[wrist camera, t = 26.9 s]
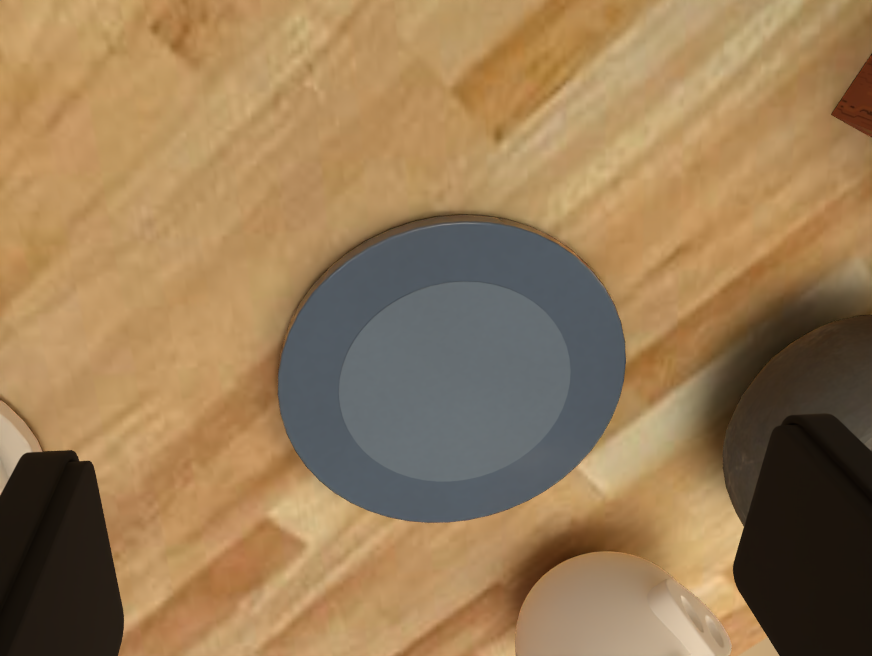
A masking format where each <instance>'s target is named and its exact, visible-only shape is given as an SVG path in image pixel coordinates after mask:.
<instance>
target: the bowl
mask: <svg viewBox="0 0 872 656" xmlns="http://www.w3.org/2000/svg"><path fill="white" fill-rule="evenodd" d="M821 413H827V414H832V415H833V416H835V417H836V418H837V419H839V420H840V421H841V422H842V423H843V424H844V425H845V426H846V427H847V428H848V429H849V430H850V431H851V432H852V433H853V434H854V435H855V436H856V437H857V438H858V439H859V440H860V441H861V442H862V443H863V444H864V445H865V446H866V447H868V448H869V449H870V450H871V451H872V315H863V316H857V317H852V318H847V319H842V320H838V321H833V322H830V323H828V324H825V325H823V326H821V327H819V328H817V329H815V330H812V331H811V332H809V333H807V334H806V335H804V336H802V337H801V338H799V339H797V340H796V341H794V342H792V343H791V344H790V345H788V346H787V347H786V348H784V349H783V350H782V351H781V352H779V353H778V354H777V355H775V356H774V357H773V358H772V359H771V360H770V361H769V362H768V363H767V364H766V365H765V366H764V367H763V368H762V370H761V371H760V372H759V373H758V375H757V376H756V377H755V379H754V380H753V381H752V383H751V384H750V386H749V387H748V388H747V390H746V391H745V393H744V394H743V396H742V397H741V399H740V401H739V403H738V405H737V406H736V409H735V411H734V413H733V415H732V418H731V420H730V422H729V425H728V428H727V430H726V434H725V439H724V445H723V471H724V478H725V484H726V488H727V491H728V493H729V497H730V499H731V502H732V505H733V507H734V509H735V511H736V513H737V515H738V517H739V519H740V520H741V522H742V524H743V526H745V522H746V519H747V515H748V512H749V508H750V505H751V501H752V498H753V494H754V491H755V488H756V484H757V481H758V477H759V474H760V470H761V467H762V463H763V460H764V456H765V453H766V450H767V446H768V443H769V439H770V436H771V433H772V431H773V429H774V428H775V427H777V426H781V424H782V422H783V420H784V419H785V418H786V417H787V416H790V415H801V414H821Z"/></svg>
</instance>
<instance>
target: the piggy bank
mask: <svg viewBox="0 0 872 656" xmlns="http://www.w3.org/2000/svg"><path fill="white" fill-rule="evenodd" d="M515 652H516V656H729V655H730V653H731V641H730V638H729V636H728V634H727V632H726V630H725V629H724V627H723V625H722V624H721V623H720V621H719V620H718V619H717V617H716V616H715V615H714V614H713V613H712V611H711V610H710V609H709V608H708V607H707V606H706V605H705V604H704V603H703V602H702V601H701V600H700V599H699V598H698V597H696V596H695V595H694V594H693V593H691V592H690V591H689V590H687V589H686V588H685V587H684V586H682V585H681V584H679V583H678V582H677V581H676V580H675V579H674V578H673V577H672V576H671V575H670V574H669V573H667V572H666V571H665V570H663V569H662V568H661V567H659V566H657V565H656V564H654V563H652V562H650V561H648V560H646V559H644V558H641V557H638V556H635V555H632V554H628V553H623V552H613V551H601V552H592V553H587V554H582V555H579V556H576V557H573V558H570V559H568V560H566V561H564V562H562V563H560V564H558V565H557V566H555V567H554V568H552V569H551V570H549V571H548V572H547V573H546V574H545V575H543V576H542V577H541V578H540V579H539V580H538V582H537V583H536V584H535V585H534V586H533V588H532V589H531V590H530V592H529V593H528V595H527V597H526V599H525V601H524V603H523V605H522V607H521V610H520V613H519V617H518V621H517V626H516V634H515Z"/></svg>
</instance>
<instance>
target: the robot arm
mask: <svg viewBox="0 0 872 656" xmlns="http://www.w3.org/2000/svg"><path fill="white" fill-rule="evenodd" d="M733 574H734V580H735V583H736V586H737V588H738V590H739V592H740V593H741V595H742V597H743V598H744V600H745V601H746V603H747V605H748V606H749V608H750V609H751V611H752V613H753V614H754V616H755V617H756V619H757V620H758V622H759V624H760V625H761V627H762V628H763V630H764V632H765V633H766V635H767V636H768V638H769V640H770V641H771V643H772V644H773V646H774V648H775V649H776V651H777V652H778V654H779V655H780V656H872V451H871V450H870V449H869V448H868V447H866V446H865V445H864V444H863V443H862V442H861V441H860V440H859V439H858V438H857V437H856V436H855V435H854V434H853V433H852V432H851V431H850V430H849V429H848V428H847V427H846V426H845V425H844V424H843V423H842V422H841V421H840V420H839V419H837V418H836V417H835V416H833V415H832V414H827V413H821V414H801V415H790V416H787V417H786V418H785V419H784V420H783V422H782V424H781V426H777V427H775V428H774V429H773V431H772V433H771V436H770V439H769V443H768V446H767V450H766V453H765V456H764V460H763V463H762V467H761V470H760V474H759V477H758V481H757V484H756V488H755V491H754V494H753V498H752V501H751V505H750V508H749V512H748V515H747V519H746V522H745V526H744V529H743V533H742V536H741V539H740V543H739V546H738V550H737V553H736V557H735V560H734V565H733ZM123 629H124V614H123V607H122V602H121V597H120V592H119V587H118V583H117V578H116V573H115V568H114V563H113V558H112V553H111V548H110V543H109V538H108V533H107V528H106V523H105V518H104V514H103V509H102V504H101V499H100V494H99V489H98V484H97V479H96V474H95V470H94V466H93V464H92V462H90V461H79V459H78V456H77V454H76V453H75V452H74V451H72V450H67V451H47V452H42V449H41V447H40V445H39V442H38V440H37V439H36V437H35V436H34V435H33V433H32V432H31V430H30V429H29V427H28V426H27V425H26V423H25V422H24V421H23V420H22V419H21V418H20V417H19V416H18V415H17V414H16V413H15V412H14V411H13V410H12V409H11V408H10V407H9V406H8V405H7V404H5V403H4V402H3V401H1V400H0V656H118V653H119V649H120V645H121V641H122V637H123Z"/></svg>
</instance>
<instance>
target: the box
mask: <svg viewBox="0 0 872 656" xmlns="http://www.w3.org/2000/svg"><path fill="white" fill-rule="evenodd" d="M831 115H833V116H834V117H836V118H838V119H840V120H841V121H843V122H845V123H847V124H849V125H850V126H852V127H854V128H856V129H858V130H859V131H861V132H863V133H865V134H866V135H868V136H870V137H872V54H871V56H870V57H869V59H868V60H867V62H866V63H865V65H864V66H863V68H862V69H861V71H860V72H859V74H858V75H857V77H856V78H855V80H854V81H853V83H852V84H851V86H850V87H849V89H848V90H847V92H846V93H845V95H844V96H843V98H842V99H841V101H840V102H839V104H838V105H837V107H836V108H835V110H834V111H833V113H832V114H831Z"/></svg>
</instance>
